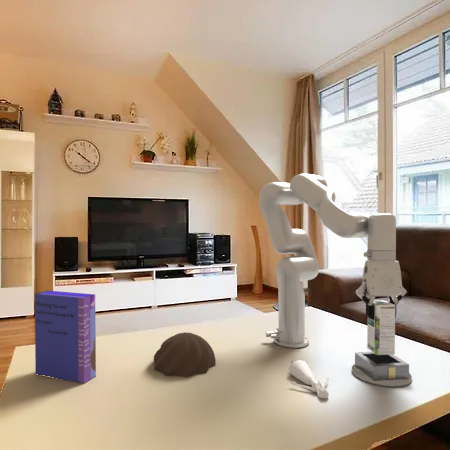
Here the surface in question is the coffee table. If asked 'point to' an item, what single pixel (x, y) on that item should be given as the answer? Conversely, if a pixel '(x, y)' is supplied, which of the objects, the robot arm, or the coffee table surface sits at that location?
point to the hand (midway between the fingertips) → (381, 317)
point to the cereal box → (65, 335)
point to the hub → (381, 369)
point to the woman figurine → (307, 378)
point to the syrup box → (382, 329)
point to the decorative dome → (184, 356)
